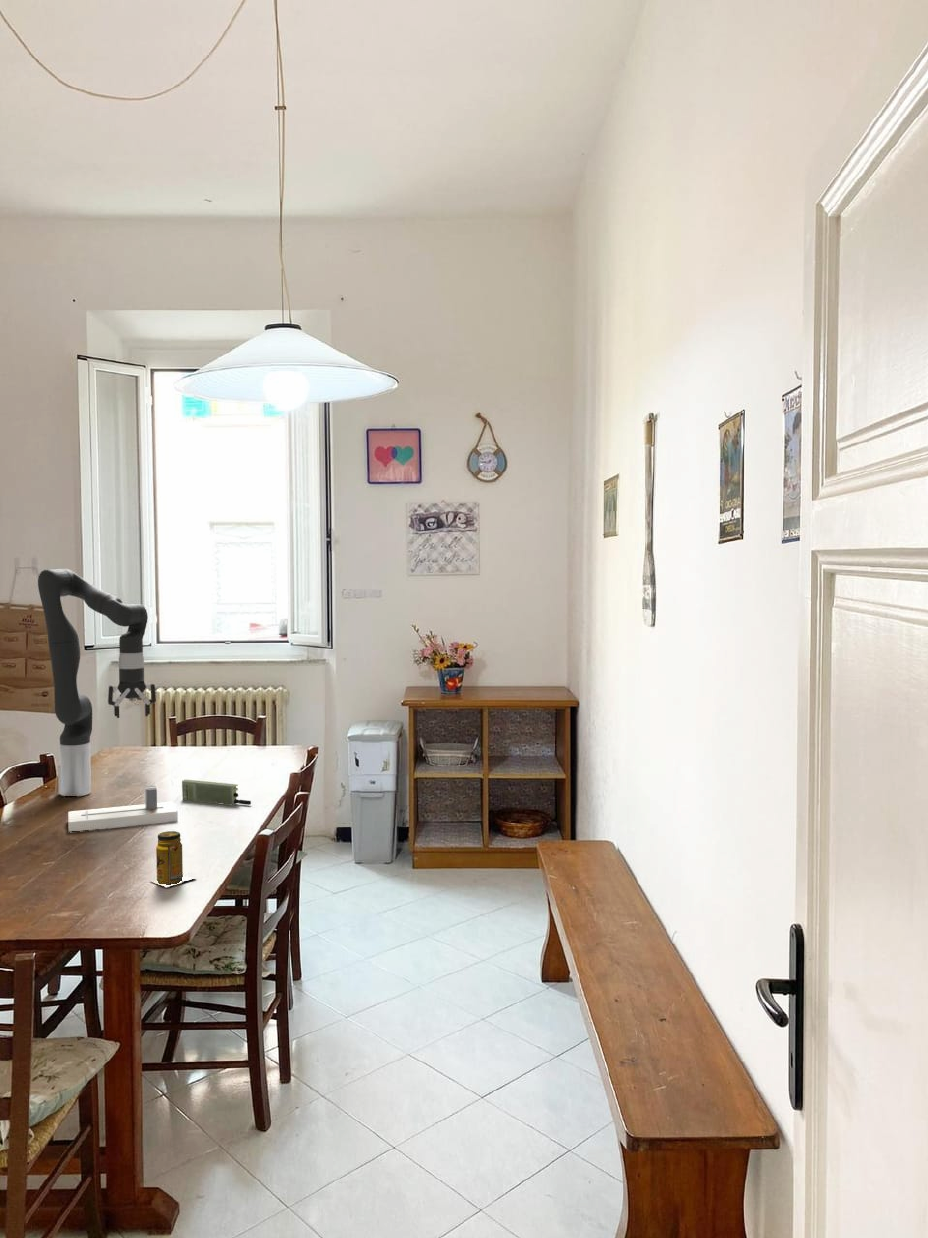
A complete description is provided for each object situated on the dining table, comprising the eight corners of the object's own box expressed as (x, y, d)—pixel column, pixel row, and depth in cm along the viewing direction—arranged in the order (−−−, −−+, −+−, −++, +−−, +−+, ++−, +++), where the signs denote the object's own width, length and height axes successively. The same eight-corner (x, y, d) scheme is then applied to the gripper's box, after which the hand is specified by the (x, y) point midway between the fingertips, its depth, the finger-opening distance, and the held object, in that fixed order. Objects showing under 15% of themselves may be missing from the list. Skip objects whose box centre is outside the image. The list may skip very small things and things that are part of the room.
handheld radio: (187, 798, 297) (253, 805, 289) (181, 801, 294) (247, 808, 286) (186, 778, 297) (252, 785, 289) (180, 781, 294) (247, 787, 286)
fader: (146, 810, 270) (146, 790, 270) (145, 805, 275) (144, 786, 274) (157, 809, 271) (156, 789, 271) (155, 804, 276) (155, 785, 275)
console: (68, 832, 258) (68, 822, 258) (68, 821, 269) (68, 811, 269) (177, 821, 270) (177, 811, 270) (173, 810, 281) (173, 801, 281)
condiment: (149, 882, 219) (148, 834, 219) (180, 873, 226) (179, 826, 225) (166, 889, 215) (165, 840, 214) (197, 880, 221) (196, 832, 220)
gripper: (107, 668, 281) (108, 720, 282) (156, 666, 286) (156, 717, 287) (107, 666, 287) (108, 716, 288) (154, 664, 293) (154, 713, 294)
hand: (132, 716), depth 288 cm, fingers open, 8 cm apart
